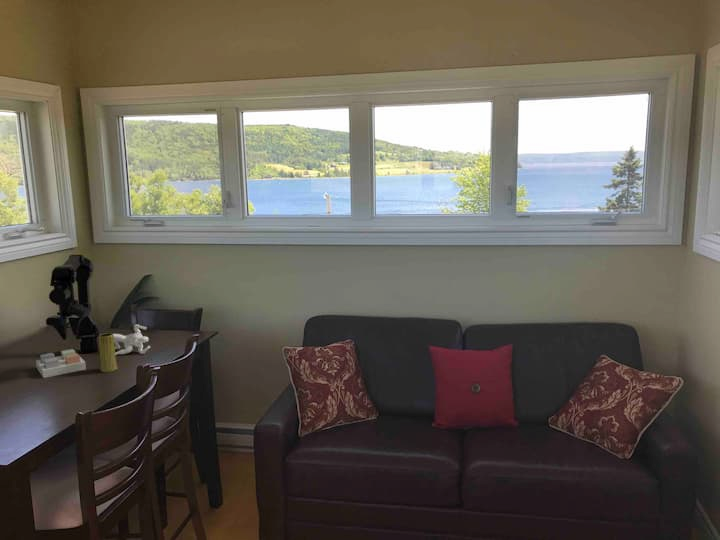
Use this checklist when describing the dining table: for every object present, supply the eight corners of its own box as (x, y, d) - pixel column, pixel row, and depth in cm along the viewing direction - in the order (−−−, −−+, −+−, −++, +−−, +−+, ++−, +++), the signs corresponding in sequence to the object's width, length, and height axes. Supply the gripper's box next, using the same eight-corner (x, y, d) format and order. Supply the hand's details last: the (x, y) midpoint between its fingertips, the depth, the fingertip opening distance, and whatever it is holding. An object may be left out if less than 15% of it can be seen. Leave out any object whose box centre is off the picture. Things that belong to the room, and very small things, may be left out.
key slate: (53, 359, 228) (52, 352, 227) (55, 362, 224) (54, 355, 224) (41, 361, 225) (40, 354, 225) (42, 364, 222) (42, 357, 221)
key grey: (56, 363, 222) (56, 357, 221) (59, 366, 218) (58, 359, 218) (44, 366, 219) (43, 359, 219) (46, 369, 216) (45, 362, 215)
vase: (99, 373, 219) (96, 337, 216) (102, 368, 224) (98, 333, 222) (116, 371, 220) (113, 336, 218) (118, 366, 226) (115, 332, 224)
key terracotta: (77, 360, 226) (77, 353, 226) (80, 362, 223) (79, 355, 222) (65, 362, 224) (64, 355, 223) (67, 365, 220) (67, 358, 220)
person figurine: (100, 333, 236) (144, 322, 241) (106, 331, 249) (148, 321, 253) (108, 363, 236) (152, 351, 240) (113, 360, 248) (155, 349, 253)
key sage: (73, 355, 232) (72, 349, 232) (75, 358, 229) (75, 351, 228) (61, 357, 230) (61, 351, 229) (64, 360, 226) (63, 353, 226)
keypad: (77, 360, 235) (76, 353, 234) (86, 369, 223) (85, 362, 223) (36, 367, 226) (35, 360, 225) (43, 377, 214) (42, 370, 214)
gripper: (70, 304, 209) (74, 344, 211) (99, 294, 227) (102, 331, 230) (42, 303, 210) (47, 343, 213) (73, 293, 229) (77, 330, 231)
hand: (70, 337), depth 222 cm, fingers open, 6 cm apart
